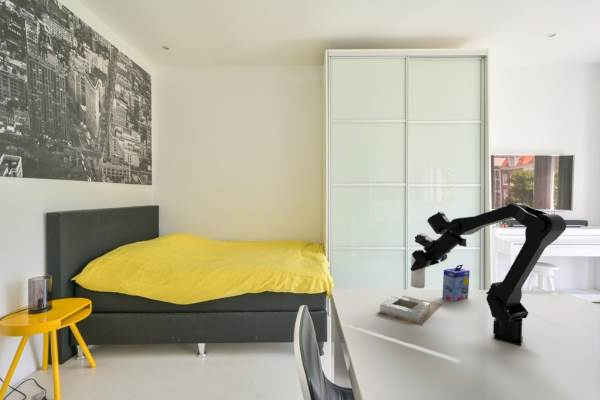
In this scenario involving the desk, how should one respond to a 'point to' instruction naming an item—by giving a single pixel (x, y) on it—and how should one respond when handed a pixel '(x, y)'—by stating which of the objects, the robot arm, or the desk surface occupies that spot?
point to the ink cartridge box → (456, 283)
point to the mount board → (433, 309)
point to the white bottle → (417, 276)
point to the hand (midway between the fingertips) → (414, 268)
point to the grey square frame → (405, 308)
